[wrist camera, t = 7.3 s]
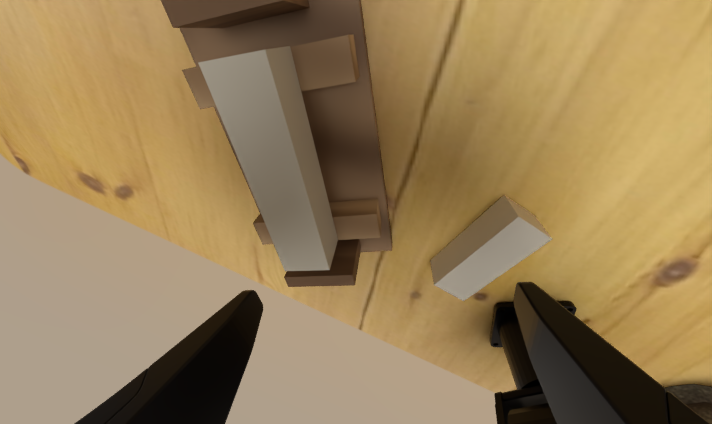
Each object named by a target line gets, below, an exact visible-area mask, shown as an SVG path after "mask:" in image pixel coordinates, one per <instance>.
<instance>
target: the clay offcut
mask: <svg viewBox="0 0 712 424" xmlns="http://www.w3.org/2000/svg"><path fill="white" fill-rule="evenodd" d="M550 240H552V238H551V236H550V235H549V234H548V232H547V231H546V230H545V228H544V227H543V226H542V224H541V223H540V222H539V220H538V219H537V218H536V216H535V215H534V214H532V213H531V212H529V211H528V210H526V209H525V208H523V207H522V206H520V205H519V204H517V203H516V202H514V201H513V200H511V199H510V198H508V197H507V196H505V195H503V196H502V197H501V198H500V199H499V200H498V201H497V202H495V203H494V204H493V205H492V206H491V207H490V208H489V209H488V210H486V211H485V212H484V213H483V214H482V215H481V216H480V217H479V218H477V219H476V220H475V221H474V222H473V223H472V224H471V225H470V226H468V227H467V228H466V229H465V230H464V231H463V232H462V233H460V234H459V235H458V236H457V237H456V238H455V239H454V240H453V241H451V242H450V243H449V244H448V245H447V246H446V247H445V248H444V249H442V250H441V251H440V252H439V253H438V254H437V255H436V256H435V257H433V258H432V259H431V260H430V262H431V268H432V275H433V282H434V285H435V286H437V287H439V288H440V289H442V290H444V291H446V292H448V293H450V294H451V295H453V296H455V297H457V298H459V299H461V300H462V301H464V300H466V299H467V298H469V297H470V296H472V295H473V294H474V293H476V292H477V291H479V290H480V289H482V288H483V287H484V286H486V285H487V284H489V283H490V282H492V281H493V280H495V279H496V278H497V277H499V276H500V275H502V274H503V273H505V272H506V271H507V270H509V269H510V268H512V267H513V266H515V265H516V264H517V263H519V262H520V261H522V260H523V259H525V258H526V257H528V256H529V255H530V254H532V253H533V252H535V251H536V250H538V249H539V248H540V247H542V246H543V245H545V244H546V243H548V242H549V241H550Z"/></svg>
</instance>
